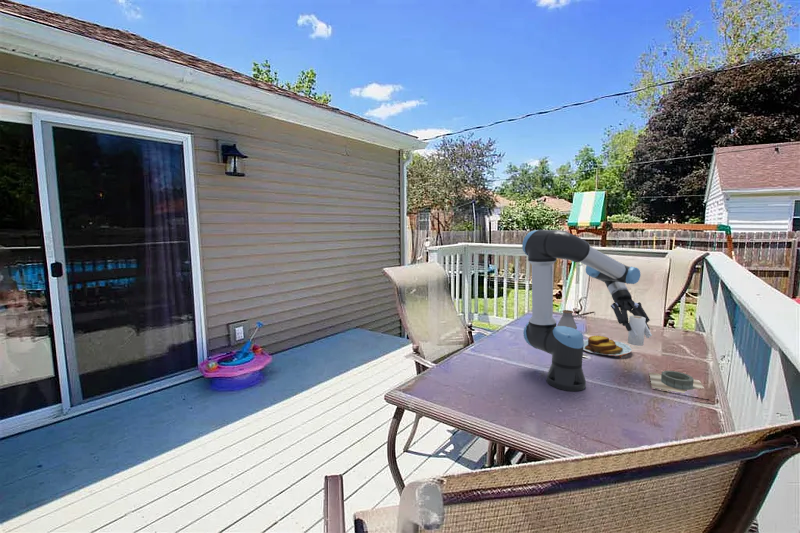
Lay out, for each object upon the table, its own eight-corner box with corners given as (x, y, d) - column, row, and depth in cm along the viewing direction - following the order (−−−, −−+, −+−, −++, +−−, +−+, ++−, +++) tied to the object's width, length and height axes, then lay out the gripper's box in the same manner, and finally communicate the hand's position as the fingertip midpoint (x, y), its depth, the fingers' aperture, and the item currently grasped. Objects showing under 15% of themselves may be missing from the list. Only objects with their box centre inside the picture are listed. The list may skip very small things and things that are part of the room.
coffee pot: (554, 331, 229) (555, 308, 228) (560, 327, 238) (561, 305, 236) (591, 338, 216) (593, 313, 214) (596, 333, 224) (597, 310, 223)
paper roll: (643, 346, 159) (646, 319, 157) (627, 344, 162) (629, 317, 160) (643, 342, 164) (645, 316, 162) (627, 340, 167) (629, 314, 165)
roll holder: (708, 400, 139) (709, 389, 139) (651, 389, 149) (652, 378, 148) (699, 382, 155) (700, 372, 154) (648, 373, 164) (649, 364, 163)
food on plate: (634, 362, 178) (635, 349, 178) (578, 354, 189) (578, 342, 189) (628, 346, 201) (629, 335, 200) (578, 340, 212) (579, 329, 211)
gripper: (634, 297, 177) (657, 340, 162) (596, 297, 175) (617, 341, 161) (643, 288, 171) (668, 332, 156) (604, 288, 169) (626, 333, 155)
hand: (642, 336), depth 159 cm, fingers closed on paper roll, 6 cm apart
